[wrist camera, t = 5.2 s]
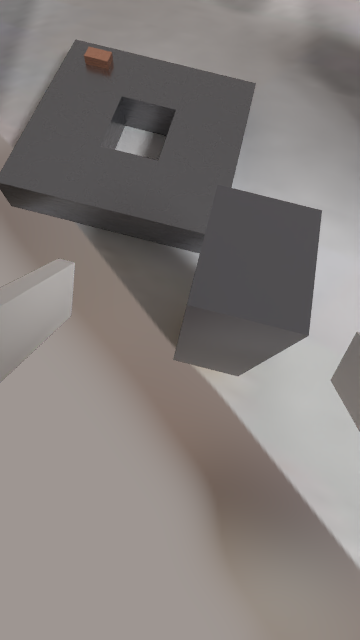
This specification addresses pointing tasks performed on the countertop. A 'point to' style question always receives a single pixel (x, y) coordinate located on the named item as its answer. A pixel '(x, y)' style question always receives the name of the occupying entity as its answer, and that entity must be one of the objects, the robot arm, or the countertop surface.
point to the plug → (250, 282)
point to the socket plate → (123, 168)
